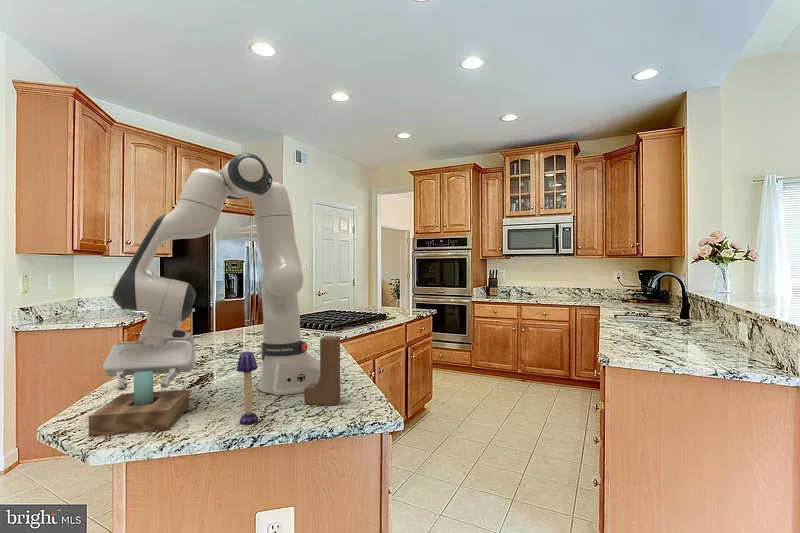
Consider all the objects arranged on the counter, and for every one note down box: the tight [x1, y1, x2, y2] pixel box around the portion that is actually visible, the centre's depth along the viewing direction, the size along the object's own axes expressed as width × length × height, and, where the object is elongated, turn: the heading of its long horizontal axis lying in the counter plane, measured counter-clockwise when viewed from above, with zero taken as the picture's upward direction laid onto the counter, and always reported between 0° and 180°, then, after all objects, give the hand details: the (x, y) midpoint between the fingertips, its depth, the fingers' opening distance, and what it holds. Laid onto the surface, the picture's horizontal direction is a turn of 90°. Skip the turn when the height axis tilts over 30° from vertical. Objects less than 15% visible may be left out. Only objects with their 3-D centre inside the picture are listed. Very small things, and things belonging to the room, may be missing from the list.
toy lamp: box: [236, 351, 259, 426], centre depth 96 cm, size 5×5×17 cm
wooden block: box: [303, 335, 341, 406], centre depth 110 cm, size 9×4×18 cm, turn 82°
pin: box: [133, 370, 154, 405], centre depth 98 cm, size 4×4×11 cm
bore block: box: [88, 389, 190, 437], centre depth 98 cm, size 16×16×4 cm
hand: (142, 388), depth 97 cm, fingers open, 8 cm apart
